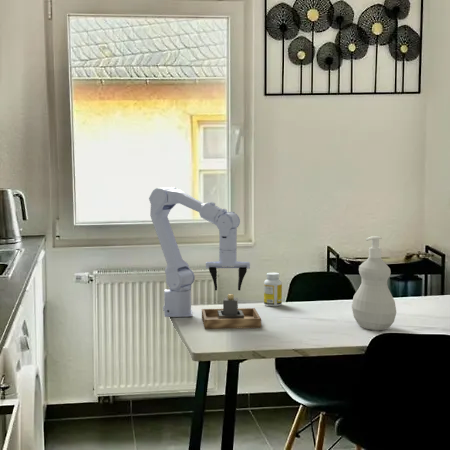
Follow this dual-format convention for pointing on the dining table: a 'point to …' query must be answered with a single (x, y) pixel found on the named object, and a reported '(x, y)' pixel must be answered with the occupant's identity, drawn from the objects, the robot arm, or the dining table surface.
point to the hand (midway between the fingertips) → (227, 289)
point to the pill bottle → (272, 290)
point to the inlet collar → (221, 316)
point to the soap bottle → (374, 292)
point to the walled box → (249, 319)
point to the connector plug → (230, 305)
